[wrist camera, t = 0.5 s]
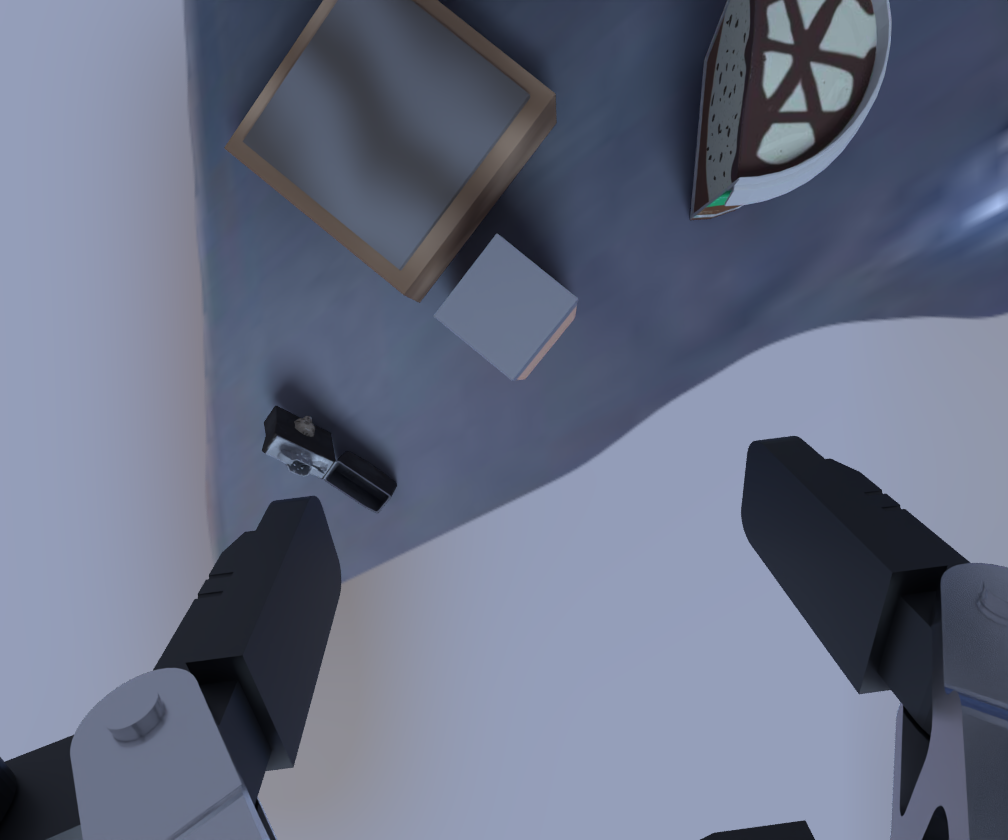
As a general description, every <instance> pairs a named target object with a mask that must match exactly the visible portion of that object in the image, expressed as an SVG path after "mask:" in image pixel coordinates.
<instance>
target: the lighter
mask: <svg viewBox="0 0 1008 840" xmlns="http://www.w3.org/2000/svg"><path fill="white" fill-rule="evenodd" d="M264 426H265V432H266V437H265V441H264V445H263V448H262V451H263V452H264V453H265V454H267V455H269V456H271V457H274V458H276V459H278V460H280V461H282V462H283V463H285V464H286V465H287V467H288V469H289V471H291V472H293V473H295V474H298V475H300V476H302V477H303V476H308V475H309V473H310V474H312V475H314V476H317V477H319V478H321V479H324V480H325V481H326V482H327V483H329V484H330V485H332V486H333V487H335V488H336V489H338V490H339V491H341V492H342V493H344V494H345V495H347V496H348V497H350V498H351V499H353V500H355V501H356V502H358V503H359V504H361V505H362V506H364V507H365V508H367V509H369V510H371V511H373V512H375V513H379V512H380V510H381V509H382V508H383V507H384V506H385V504H386V503H387V502H388V501H389V500H390V498H391V496H392V495H393V493H394V491H395V489H396V487H397V484H396V483H395V482H394V481H393V480H391V479H390V478H389V477H388V476H387V475H385V474H384V473H383V472H381V471H380V470H378V469H377V468H376V467H374V466H373V465H371V464H370V463H368V462H367V461H365V460H363V459H362V458H360V457H358V456H356V455H355V454H353V453H351V452H349V451H346V452H345V453H344V454H343V455H342V456H341V457H340V458H339V459H338V460H337V461H336V460H335V454H334V449H333V443H332V438H331V433H330V432H328V431H326V430H324V429H322V428H320V427H318V426H316V425H314V424H313V423H312V418H311V417H309V416H305V417H304V418H300V417H298V416H296V415H294V414H292V413H290V412H288V411H286V410H284V409H282V408H280V407H278V406H275V407H274V408H273V410H272V411H271V413H270V414H269V416H268V417H267V419H266V420H265V422H264ZM298 469H299V470H298ZM294 471H295V472H294ZM301 474H302V475H301Z"/></svg>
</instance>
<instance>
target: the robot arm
mask: <svg viewBox="0 0 1008 840" xmlns="http://www.w3.org/2000/svg"><path fill="white" fill-rule="evenodd" d="M741 517H742V524H743V528H744V531H745V534H746V537H747V539H748V541H749V542H750V544H751V545H752V547H753V548H754V550H755V551H756V552H757V554H758V555H759V556H760V558H761V559H762V561H763V562H764V563H765V565H766V566H767V567H768V569H769V570H770V571H771V573H772V574H773V576H774V577H775V579H776V580H777V581H778V583H779V584H780V586H781V587H782V588H783V590H784V591H785V592H786V594H787V595H788V597H789V598H790V599H791V601H792V602H793V604H794V605H795V606H796V608H797V609H798V610H799V612H800V613H801V615H802V616H803V617H804V619H805V620H806V621H807V623H808V624H809V626H810V627H811V628H812V630H813V631H814V633H815V634H816V635H817V637H818V638H819V639H820V641H821V642H822V644H823V645H824V646H825V648H826V649H827V651H828V652H829V653H830V655H831V656H832V657H833V659H834V660H835V662H836V663H837V664H838V666H839V667H840V669H841V670H842V671H843V673H844V674H845V675H846V677H847V678H848V680H849V681H850V682H851V684H852V685H853V686H854V688H855V689H856V691H857V692H858V693H859V694H863V693H872V692H878V691H885V690H892V692H893V693H894V694H895V695H896V697H897V698H898V699H899V701H900V702H901V703H900V706H899V709H898V711H897V716H896V732H895V753H894V777H893V799H892V820H891V835H890V840H1008V568H1007V567H1003V566H998V565H993V564H985V563H970V562H969V561H968V560H966V559H965V558H964V557H963V556H961V555H960V554H959V553H958V552H957V551H955V550H954V549H953V548H952V547H951V546H949V545H948V544H947V543H946V542H944V541H943V540H942V539H941V538H939V537H938V536H937V535H936V534H935V533H934V532H932V531H931V530H930V529H929V528H927V527H926V526H925V525H924V524H923V523H921V522H920V521H919V520H918V519H916V518H915V517H914V516H913V515H912V514H910V513H909V512H908V511H907V510H905V509H901V508H900V505H899V504H898V503H897V502H896V501H894V500H893V499H892V498H891V497H890V496H888V495H887V494H883V493H882V490H881V489H880V488H879V487H877V486H876V485H875V484H874V483H873V482H871V481H870V480H869V479H868V478H867V477H865V476H864V475H863V474H862V473H860V472H859V471H856V470H854V469H852V468H850V467H848V466H845V465H843V464H841V463H839V462H837V461H834V460H833V459H824V458H823V457H822V456H821V455H820V454H818V453H817V452H816V451H815V450H814V449H813V448H812V447H810V446H809V445H808V444H807V443H806V442H804V441H803V440H802V439H801V438H799V437H797V436H790V437H781V438H774V439H766V440H758V441H753V442H752V443H751V444H750V446H749V448H748V452H747V461H746V470H745V479H744V489H743V498H742V507H741ZM340 591H341V570H340V563H339V559H338V556H337V553H336V550H335V546H334V543H333V540H332V537H331V533H330V530H329V527H328V524H327V520H326V517H325V514H324V511H323V507H322V505H321V502H320V500H319V499H318V498H317V497H316V496H308V497H300V498H292V499H284V500H276V501H273V502H271V503H270V505H269V507H268V508H267V510H266V512H265V514H264V516H263V518H262V520H261V522H260V523H259V525H258V527H257V529H256V531H249V532H244V533H243V534H242V535H241V536H240V537H239V538H238V539H237V540H236V541H234V542H233V543H232V544H231V545H230V546H229V547H228V548H227V549H226V550H224V551H223V552H222V554H221V555H220V557H219V559H218V560H217V562H216V564H215V565H214V567H213V569H212V571H211V573H210V574H209V579H208V580H206V581H205V583H204V585H203V586H202V588H201V589H200V591H199V593H198V599H195V600H194V601H193V603H192V605H191V606H190V608H189V610H188V612H187V613H186V615H185V617H184V618H183V620H182V622H181V623H180V625H179V627H178V629H177V630H176V632H175V634H174V635H173V637H172V639H171V641H170V642H169V644H168V646H167V647H166V649H165V651H164V653H163V654H162V656H161V658H160V659H159V661H158V663H157V664H156V666H155V668H154V670H153V671H151V672H147V673H145V674H142V675H140V676H137V677H135V678H133V679H131V680H129V681H127V682H126V683H124V684H122V685H121V686H119V687H117V688H116V689H115V690H113V691H112V692H110V693H109V694H108V695H106V696H105V697H104V698H103V699H102V700H101V701H100V702H98V703H97V704H96V705H95V706H94V707H93V709H92V710H91V711H90V712H89V713H88V714H87V715H86V717H85V718H84V719H83V720H82V722H81V724H80V725H79V727H78V728H77V730H76V732H75V734H74V735H73V736H70V737H67V738H65V739H62V740H60V741H57V742H55V743H52V744H49V745H47V746H44V747H41V748H39V749H36V750H34V751H31V752H29V753H26V754H23V755H21V756H18V757H16V758H13V759H11V760H8V761H6V762H4V761H3V760H2V759H1V757H0V840H277V838H276V835H275V833H274V831H273V829H272V827H271V825H270V822H269V820H268V818H267V816H266V813H265V811H264V809H263V807H262V805H261V803H260V801H259V799H258V797H257V796H258V793H259V790H260V787H261V784H262V780H263V777H264V774H265V771H269V770H278V769H285V768H293V767H294V763H295V759H296V756H297V752H298V748H299V744H300V741H301V737H302V733H303V730H304V726H305V722H306V719H307V714H308V711H309V708H310V704H311V700H312V696H313V693H314V689H315V685H316V682H317V678H318V674H319V671H320V667H321V663H322V659H323V655H324V652H325V648H326V645H327V641H328V637H329V633H330V630H331V626H332V622H333V619H334V615H335V611H336V607H337V604H338V600H339V596H340ZM700 840H815V839H814V837H813V835H812V833H811V831H810V829H809V827H808V825H807V823H806V821H797V822H791V823H783V824H775V825H768V826H762V827H754V828H747V829H739V830H732V831H724V832H717V833H713V834H711V835H709V836H707V837H705V838H703V839H700Z"/></svg>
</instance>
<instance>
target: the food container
mask: <svg viewBox="0 0 1008 840" xmlns="http://www.w3.org/2000/svg"><path fill="white" fill-rule="evenodd" d="M890 44H891V13H890V5H889V0H727V2H726V4H725V7H724V10H723V12H722V15H721V17H720V20H719V23H718V25H717V28H716V30H715V33H714V36H713V38H712V41H711V43H710V46H709V49H708V51H707V54H706V56H705V59H704V67H703V78H702V89H701V101H700V112H699V123H698V134H697V146H696V157H695V168H694V180H693V191H692V202H691V213H690V220H701V219H711V218H714V217H717V216H720V215H723V214H726V213H729V212H732V211H735V210H736V209H738V208H740V207H741V206H743V205H747V204H752V203H757V202H762V201H766V200H769V199H772V198H775V197H777V196H780V195H783V194H786V193H788V192H790V191H792V190H793V189H795V188H797V187H799V186H801V185H803V184H805V183H806V182H808V181H809V180H811V179H812V178H813V177H815V176H816V175H817V174H819V173H820V172H821V171H823V170H824V169H825V168H826V167H827V166H828V165H829V164H830V163H831V162H832V161H833V160H834V159H835V158H836V157H837V156H838V155H839V154H840V153H841V152H842V151H843V150H844V148H845V147H846V146H847V144H848V143H849V142H850V140H851V139H852V138H853V136H854V135H855V134H856V132H857V130H858V129H859V127H860V126H861V124H862V122H863V121H864V119H865V118H866V116H867V114H868V112H869V110H870V108H871V106H872V105H873V103H874V101H875V99H876V97H877V95H878V92H879V89H880V86H881V84H882V81H883V78H884V75H885V70H886V65H887V60H888V55H889V49H890Z"/></svg>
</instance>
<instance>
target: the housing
mask: <svg viewBox="0 0 1008 840" xmlns="http://www.w3.org/2000/svg"><path fill="white" fill-rule="evenodd" d="M577 302H578V298H577V297H575V296H574V295H573V294H572V293H570V292H569V291H568V290H567V289H566V288H564V287H563V286H562V285H561V284H559V283H558V282H557V281H556V280H554V279H553V278H552V277H551V276H549V275H548V274H547V273H546V272H544V271H543V270H542V269H541V268H540V267H538V266H537V265H536V264H535V263H533V262H532V261H531V260H530V259H528V258H527V257H526V256H525V255H523V254H522V253H521V252H520V251H518V250H517V249H516V248H515V247H513V246H512V245H511V244H510V243H509V242H507V241H506V240H505V239H504V238H502V237H501V236H500V235H499V234H496V235H495V236H494V238H493V239H492V240H491V241H490V243H489V244H488V245H487V247H486V248H485V249H484V251H483V252H482V253H481V254H480V256H479V257H478V258H477V260H476V261H475V262H474V264H473V265H472V266H471V268H470V269H469V270H468V271H467V273H466V274H465V275H464V277H463V278H462V279H461V281H460V282H459V283H458V284H457V286H456V287H455V288H454V290H453V291H452V292H451V294H450V295H449V296H448V297H447V299H446V300H445V301H444V303H443V304H442V305H441V307H440V308H439V309H438V310H437V312H436V313H435V314H434V317H435V318H436V319H437V320H439V321H440V322H441V323H442V324H444V325H445V326H446V327H447V328H448V329H450V330H451V331H452V332H453V333H455V334H456V335H457V336H458V337H459V338H461V339H462V340H463V341H464V342H466V343H467V344H468V345H469V346H470V347H472V348H473V349H474V350H475V351H477V352H478V353H479V354H480V355H481V356H483V357H484V358H485V359H486V360H488V361H489V362H490V363H491V364H492V365H494V366H495V367H496V368H497V369H499V370H500V371H501V372H502V373H503V374H505V375H506V376H507V377H508V378H510V379H511V380H512V381H513V380H522V379H526V378H527V376H528V375H529V374H530V373H531V371H532V370H533V369H534V368H535V366H536V365H537V364H538V363H539V362H540V360H541V359H542V358H543V357H544V355H545V354H546V353H547V352H548V350H549V349H550V348H551V347H552V345H553V344H554V343H555V342H556V341H557V339H558V338H559V337H560V336H561V334H562V333H563V332H564V331H565V329H566V328H567V327H568V326H569V325H570V323H571V322H572V321H573V320H574V318H575V314H576V308H577Z"/></svg>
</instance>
